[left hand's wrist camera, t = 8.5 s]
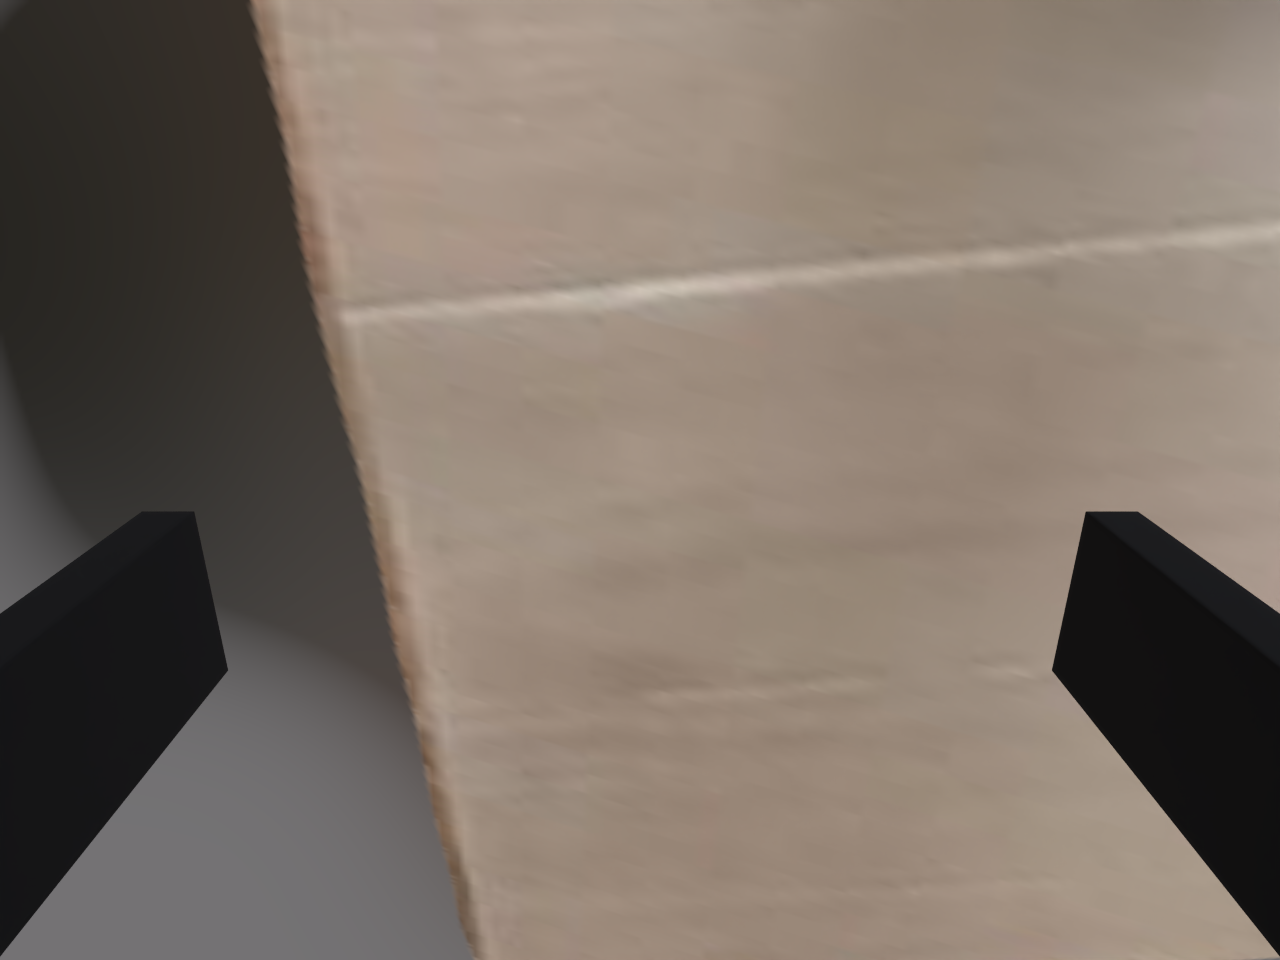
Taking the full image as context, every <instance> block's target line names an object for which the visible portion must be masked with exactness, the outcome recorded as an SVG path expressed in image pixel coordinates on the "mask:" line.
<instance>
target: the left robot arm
mask: <svg viewBox="0 0 1280 960" xmlns="http://www.w3.org/2000/svg"><path fill="white" fill-rule="evenodd" d="M227 671H228V668H227V663H226V658H225V654H224V649H223V645H222V640H221V635H220V630H219V626H218V621H217V616H216V612H215V607H214V603H213V598H212V593H211V588H210V584H209V579H208V574H207V570H206V565H205V560H204V556H203V551H202V546H201V542H200V537H199V532H198V527H197V523H196V518H195V513H194V512H141V513H140V514H138V515H137V516H135V517H134V518H133V519H131V520H130V521H128V522H127V523H126V524H124V525H123V526H121V527H120V528H119V529H117V530H116V531H115V532H113V533H112V534H110V535H109V536H108V537H106V538H105V539H104V540H102V541H101V542H99V543H98V544H97V545H95V546H94V547H92V548H91V549H90V550H88V551H87V552H85V553H84V554H83V555H81V556H80V557H78V558H77V559H76V560H74V561H73V562H71V563H70V564H69V565H67V566H66V567H65V568H63V569H62V570H60V571H59V572H58V573H56V574H55V575H53V576H52V577H51V578H49V579H48V580H46V581H45V582H44V583H42V584H41V585H40V586H38V587H37V588H35V589H34V590H33V591H31V592H30V593H28V594H27V595H26V596H24V597H23V598H21V599H20V600H19V601H17V602H16V603H15V604H13V605H12V606H10V607H9V608H8V609H6V610H5V611H3V612H2V613H1V614H0V956H1V955H2V953H3V952H4V951H5V950H6V948H7V947H8V946H9V945H10V943H11V942H12V941H13V940H14V938H15V937H16V936H17V935H18V933H19V932H20V931H21V930H22V928H23V927H24V926H25V925H26V923H27V922H28V921H29V920H30V918H31V917H32V916H33V914H34V913H35V912H36V911H37V910H38V908H39V907H40V906H41V904H42V903H43V902H44V901H45V899H46V898H47V897H48V896H49V894H50V893H51V892H52V891H53V889H54V888H55V887H56V886H57V884H58V883H59V882H60V881H61V879H62V878H63V877H64V876H65V874H66V873H67V872H68V871H69V869H70V868H71V867H72V866H73V864H74V863H75V862H76V861H77V859H78V858H79V857H80V855H81V854H82V853H83V852H84V850H85V849H86V848H87V847H88V846H89V844H90V843H91V842H92V840H93V839H94V838H95V837H96V835H97V834H98V833H99V832H100V830H101V829H102V828H103V827H104V825H105V824H106V823H107V822H108V820H109V819H110V818H111V817H112V815H113V814H114V813H115V812H116V810H117V809H118V808H119V807H120V805H121V804H122V803H123V801H124V800H125V799H126V798H127V797H128V795H129V794H130V793H131V791H132V790H133V789H134V788H135V786H136V785H137V784H138V783H139V781H140V780H141V779H142V778H143V776H144V775H145V774H146V773H147V771H148V770H149V769H150V768H151V766H152V765H153V764H154V763H155V761H156V760H157V759H158V758H159V756H160V755H161V754H162V753H163V751H164V750H165V749H166V748H167V746H168V745H169V744H170V743H171V741H172V740H173V739H174V738H175V736H176V735H177V734H178V732H179V731H180V730H181V729H182V727H183V726H184V725H185V724H186V722H187V721H188V720H189V719H190V717H191V716H192V715H193V714H194V712H195V711H196V710H197V709H198V707H199V706H200V705H201V704H202V702H203V701H204V700H205V699H206V697H207V696H208V695H209V693H210V692H211V691H212V690H213V689H214V687H215V686H216V685H217V683H218V682H219V681H220V680H221V679H222V677H223V676H224V675H225V674H226V672H227ZM1052 671H1053V672H1054V674H1055V675H1056V676H1057V677H1058V679H1059V680H1060V681H1061V682H1062V684H1063V685H1064V686H1065V687H1066V689H1067V690H1068V691H1069V692H1070V694H1071V695H1072V696H1073V697H1074V699H1075V700H1076V701H1077V702H1078V704H1079V705H1080V706H1081V707H1082V709H1083V710H1084V711H1085V712H1086V714H1087V715H1088V716H1089V717H1090V719H1091V720H1092V721H1093V722H1094V724H1095V725H1096V726H1097V727H1098V729H1099V730H1100V731H1101V733H1102V734H1103V735H1104V736H1105V738H1106V739H1107V740H1108V741H1109V743H1110V744H1111V745H1112V746H1113V748H1114V749H1115V750H1116V751H1117V753H1118V754H1119V755H1120V756H1121V758H1122V759H1123V760H1124V761H1125V763H1126V764H1127V765H1128V766H1129V768H1130V769H1131V770H1132V771H1133V773H1134V774H1135V775H1136V776H1137V778H1138V779H1139V780H1140V781H1141V783H1142V784H1143V785H1144V787H1145V788H1146V789H1147V790H1148V792H1149V793H1150V794H1151V795H1152V797H1153V798H1154V799H1155V800H1156V802H1157V803H1158V804H1159V805H1160V807H1161V808H1162V809H1163V810H1164V812H1165V813H1166V814H1167V815H1168V817H1169V818H1170V819H1171V820H1172V822H1173V823H1174V824H1175V825H1176V827H1177V828H1178V829H1179V830H1180V832H1181V833H1182V834H1183V835H1184V837H1185V838H1186V839H1187V840H1188V842H1189V843H1190V844H1191V846H1192V847H1193V848H1194V849H1195V851H1196V852H1197V853H1198V854H1199V856H1200V857H1201V858H1202V859H1203V861H1204V862H1205V863H1206V864H1207V866H1208V867H1209V868H1210V869H1211V871H1212V872H1213V873H1214V874H1215V876H1216V877H1217V878H1218V879H1219V881H1220V882H1221V883H1222V884H1223V886H1224V887H1225V888H1226V889H1227V891H1228V892H1229V893H1230V894H1231V896H1232V897H1233V898H1234V899H1235V901H1236V902H1237V903H1238V905H1239V906H1240V907H1241V908H1242V910H1243V911H1244V912H1245V913H1246V915H1247V916H1248V917H1249V918H1250V920H1251V921H1252V922H1253V923H1254V925H1255V926H1256V927H1257V928H1258V930H1259V931H1260V932H1261V933H1262V935H1263V936H1264V937H1265V938H1266V940H1267V941H1268V942H1269V943H1270V945H1271V946H1272V947H1273V948H1274V950H1275V951H1276V952H1277V953H1278V955H1279V956H1280V614H1279V613H1278V612H1277V611H1275V610H1274V609H1272V608H1271V607H1270V606H1268V605H1267V604H1265V603H1264V602H1263V601H1261V600H1260V599H1259V598H1257V597H1256V596H1254V595H1253V594H1252V593H1250V592H1249V591H1247V590H1246V589H1245V588H1243V587H1242V586H1240V585H1239V584H1238V583H1236V582H1235V581H1234V580H1232V579H1231V578H1229V577H1228V576H1227V575H1225V574H1224V573H1222V572H1221V571H1220V570H1218V569H1217V568H1215V567H1214V566H1213V565H1211V564H1210V563H1209V562H1207V561H1206V560H1204V559H1203V558H1202V557H1200V556H1199V555H1197V554H1196V553H1195V552H1193V551H1192V550H1190V549H1189V548H1188V547H1186V546H1185V545H1184V544H1182V543H1181V542H1179V541H1178V540H1177V539H1175V538H1174V537H1172V536H1171V535H1170V534H1168V533H1167V532H1165V531H1164V530H1163V529H1161V528H1160V527H1159V526H1157V525H1156V524H1154V523H1153V522H1152V521H1150V520H1149V519H1147V518H1146V517H1145V516H1143V515H1142V514H1140V513H1139V512H1086V513H1085V518H1084V523H1083V527H1082V532H1081V537H1080V542H1079V546H1078V551H1077V556H1076V560H1075V565H1074V570H1073V574H1072V579H1071V584H1070V588H1069V593H1068V598H1067V602H1066V607H1065V612H1064V616H1063V621H1062V626H1061V630H1060V635H1059V640H1058V644H1057V649H1056V654H1055V658H1054V663H1053V668H1052Z"/></svg>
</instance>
